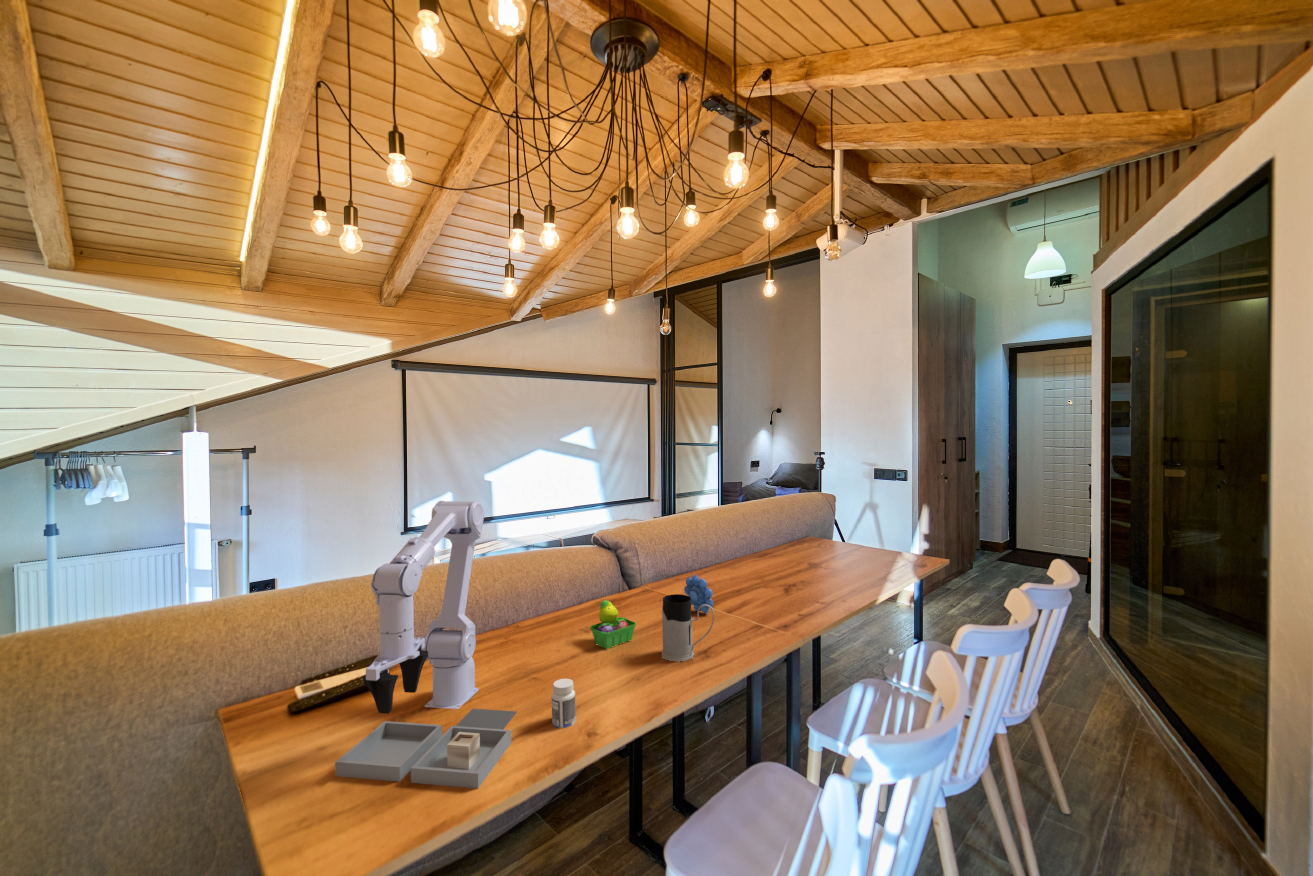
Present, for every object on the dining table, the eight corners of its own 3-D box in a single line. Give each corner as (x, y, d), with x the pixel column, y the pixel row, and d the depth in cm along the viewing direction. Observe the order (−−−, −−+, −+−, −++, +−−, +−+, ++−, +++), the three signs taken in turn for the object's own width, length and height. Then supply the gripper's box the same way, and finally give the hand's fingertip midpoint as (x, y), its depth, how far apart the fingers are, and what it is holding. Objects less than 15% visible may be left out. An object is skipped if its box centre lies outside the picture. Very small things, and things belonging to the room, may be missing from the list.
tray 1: (385, 736, 104) (384, 721, 104) (442, 740, 102) (441, 725, 102) (335, 779, 91) (335, 761, 91) (399, 785, 89) (399, 767, 89)
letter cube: (459, 753, 96) (458, 731, 96) (479, 755, 96) (479, 732, 96) (447, 767, 93) (447, 743, 93) (469, 769, 92) (468, 745, 92)
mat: (472, 711, 113) (472, 708, 113) (517, 714, 111) (517, 711, 111) (447, 738, 103) (447, 734, 103) (496, 741, 101) (496, 738, 101)
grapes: (676, 611, 175) (676, 575, 175) (689, 606, 180) (688, 571, 180) (704, 619, 167) (704, 581, 167) (717, 614, 172) (716, 577, 172)
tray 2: (451, 741, 102) (451, 725, 102) (511, 746, 100) (511, 730, 100) (410, 786, 89) (410, 768, 89) (478, 792, 87) (478, 773, 87)
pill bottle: (577, 717, 110) (576, 677, 110) (574, 730, 105) (573, 688, 105) (554, 718, 109) (553, 677, 109) (550, 731, 105) (549, 688, 105)
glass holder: (664, 647, 145) (663, 592, 145) (716, 651, 142) (715, 595, 142) (658, 660, 137) (657, 602, 137) (713, 665, 134) (712, 605, 134)
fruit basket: (605, 652, 143) (604, 610, 143) (586, 643, 149) (586, 603, 149) (637, 641, 150) (637, 601, 150) (618, 632, 157) (618, 594, 157)
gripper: (391, 644, 90) (392, 724, 90) (438, 616, 105) (439, 684, 105) (354, 643, 91) (355, 721, 91) (405, 614, 106) (406, 682, 106)
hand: (398, 701), depth 98 cm, fingers open, 7 cm apart
